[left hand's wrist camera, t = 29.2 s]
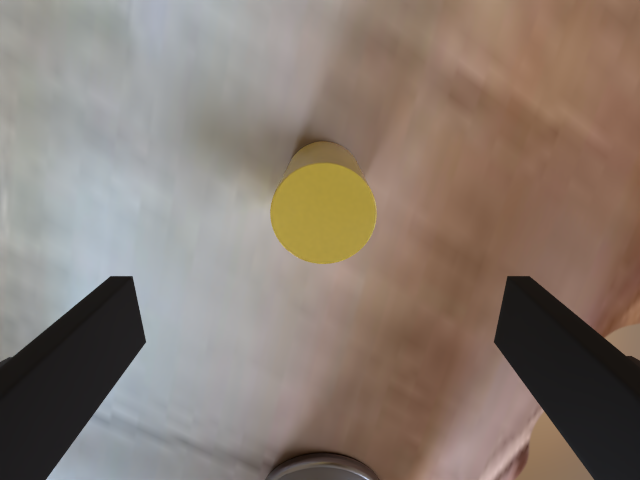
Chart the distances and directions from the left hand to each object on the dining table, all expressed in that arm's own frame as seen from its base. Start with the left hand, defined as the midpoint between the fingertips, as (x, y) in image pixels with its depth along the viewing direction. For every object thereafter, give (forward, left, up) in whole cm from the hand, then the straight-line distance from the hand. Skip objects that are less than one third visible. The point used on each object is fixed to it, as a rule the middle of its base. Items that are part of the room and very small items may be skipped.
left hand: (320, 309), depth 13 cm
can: (0, 0, -19) cm, 19 cm away
